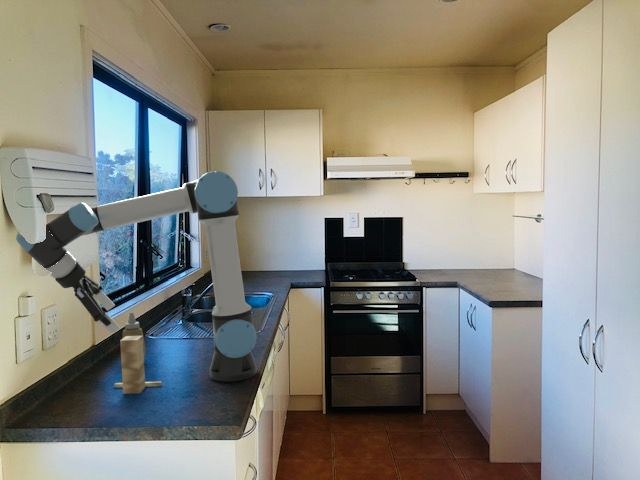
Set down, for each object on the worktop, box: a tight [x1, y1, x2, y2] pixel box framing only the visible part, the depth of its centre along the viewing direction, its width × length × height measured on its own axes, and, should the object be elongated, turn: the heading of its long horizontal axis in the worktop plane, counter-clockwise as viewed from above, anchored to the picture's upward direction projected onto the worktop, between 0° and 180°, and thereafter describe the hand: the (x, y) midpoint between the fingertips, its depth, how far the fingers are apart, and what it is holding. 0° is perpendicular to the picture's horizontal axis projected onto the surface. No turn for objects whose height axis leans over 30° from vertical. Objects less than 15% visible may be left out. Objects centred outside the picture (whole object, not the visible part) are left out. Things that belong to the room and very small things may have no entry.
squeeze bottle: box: [121, 312, 147, 357], centre depth 182 cm, size 8×8×18 cm
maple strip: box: [114, 381, 163, 389], centre depth 159 cm, size 14×1×1 cm, turn 92°
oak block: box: [119, 335, 146, 395], centre depth 155 cm, size 5×5×16 cm
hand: (113, 318), depth 157 cm, fingers open, 13 cm apart
